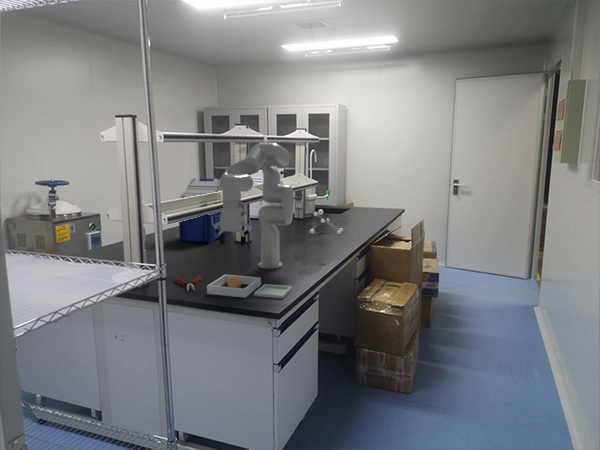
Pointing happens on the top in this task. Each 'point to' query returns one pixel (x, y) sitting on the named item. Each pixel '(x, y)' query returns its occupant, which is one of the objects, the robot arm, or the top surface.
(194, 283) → the pliers
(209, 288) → the grey square frame
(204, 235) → the storage box
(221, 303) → the top surface
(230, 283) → the ball
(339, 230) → the molecule model
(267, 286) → the tray
